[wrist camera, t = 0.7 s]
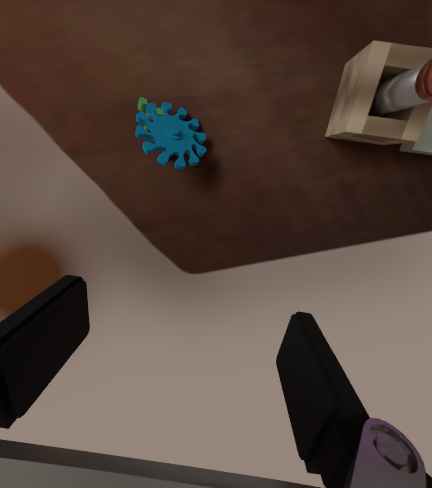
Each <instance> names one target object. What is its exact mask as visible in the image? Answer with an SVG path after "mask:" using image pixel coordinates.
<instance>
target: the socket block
mask: <svg viewBox="0 0 432 488" xmlns="http://www.w3.org/2000/svg"><path fill="white" fill-rule="evenodd" d="M430 59H432V48H425V47H418V46H411V45H403V44H396V43H389V42H382V41H372V42H371V43H370V44H369V45H368V46H366V47H365V48H364V49H363V50H362V51H360V52H359V53H358V54H357V55H355V56H354V57H353V58H352V59H351V60H349V61H348V62H347V63H346V64H345V67H344V71H343V74H342V78H341V81H340V85H339V88H338V92H337V96H336V99H335V103H334V106H333V110H332V114H331V117H330V121H329V124H328V128H327V132H326V135H325V137H329V138H336V139H343V140H351V141H358V142H365V143H373V144H380V145H389V144H398V143H407V142H416V141H417V140H418V138H419V135H420V133H421V130H422V128H423V126H424V123H425V121H426V119H427V116H428V114H429V111H430V109H431V107H432V101H429V102H426V103H422V104H419V105H416V106H412V107H409V108H406V109H402V110H399V111H396V112H392V113H389V114H386V115H382V116H380V117H374V116H368V113H369V110H370V107H371V104H372V101H373V98H374V95H375V92H376V89H377V86H378V85H380V84H382V83H384V82H386V81H388V80H390V79H392V78H394V77H396V76H398V75H400V74H402V73H404V72H406V71H408V70H410V69H412V68H414V67H416V66H418V65H420V64H422V63H424V62H426V61H428V60H430Z"/></svg>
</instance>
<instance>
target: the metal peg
mask: <svg viewBox="0 0 432 488" xmlns="http://www.w3.org/2000/svg"><path fill="white" fill-rule="evenodd" d="M429 101H432V59H430V60H428V61H426V62H424V63H422V64H420V65H418V66H416V67H414V68H412V69H410V70H408V71H406V72H404V73H402V74H400V75H398V76H396V77H394V78H392V79H390V80H388V81H386V82H384V83H382V84H380V85H378V86H377V89H376V92H375V95H374V98H373V101H372V104H371V107H370V110H369V113H368V116H374V117H379V116H382V115H386V114H389V113H392V112H396V111H399V110H402V109H406V108H409V107H412V106H416V105H419V104H422V103H426V102H429Z"/></svg>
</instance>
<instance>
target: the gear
mask: <svg viewBox="0 0 432 488" xmlns="http://www.w3.org/2000/svg"><path fill="white" fill-rule="evenodd" d="M171 107H172V106H171V104H169V103H167V102H164V101H163V103H162V106H161V109H160V108H157V107H156V105H155V104H153V103H149V104H147V100H146V99H145V98H143V97H141V98H140V99H139V105H138V109H139V110H140V112H139V113H138V114H137V115H136V121H137V122H138V123H140V124H142V125H144V126H145V127H144V128H143V127H142V126H140V125H137V127H136V137H137V138H140V139H141V138H145V139H149V140H151V141H153V142H155V143H156V144H153V143H151V142H148V141H145V142H144V143H143V149H144V151H145V153H146V154H151V153H152V152H154V151H157V150H162V151H163V153H162V154H159V156H158V159H157V161H158V162H159V163H160V164H161V165H163V166H165V165H166V164H167V162H168V159H169V157H171V156H173V155H176V156H178V159H177V160H176V162H175V164H174V166H175V168H177V169H181V170H183V168H184V167H185V161H184V158H183V155H184V154H188V155H189V157H190V159H189V164H190V165H191V166H195V165H197V164H198V163H199V158H198V157H197V156H196V155H195V154H194V152H193V150H192V147H193V148H195V149H196V152H197V155H198V156H200V157H202V156H203V155H204V153H205V151H206V150H207V149H206V148H205V147H204V146H201V145H200V144H203V143H204V141H205V139H206V135H205V134H204V133H202V132H201V133H198V132H194V131H193V130H197V129H198V127H199V123H198V121H197V119H192V120H191V121H182V120H180V119H185V117H186V115H187V112H186V111H185V110H184V109H183V108H182V107H180V108H179V109H178V112H177V114H176V115H174V116H170V115H169V114H168V113H170V110H171ZM189 128H191V129H193V130H191V129H189ZM149 130H150V131H151V132H149ZM194 138H195V139H196V140H197V141H198V142H199V143H200V144H198V143H197V142H196V141H195V140H194Z"/></svg>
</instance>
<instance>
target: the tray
mask: <svg viewBox="0 0 432 488" xmlns="http://www.w3.org/2000/svg"><path fill="white" fill-rule="evenodd" d="M399 151H404V152H411V153H419V154H426V155H432V107H431V109H430V111H429V114H428V116H427V119H426V121H425V123H424V126H423V128H422V130H421V133H420V135H419V138H418V140H417V141H416V142H407V143H402V144H401V147H400V149H399Z"/></svg>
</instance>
